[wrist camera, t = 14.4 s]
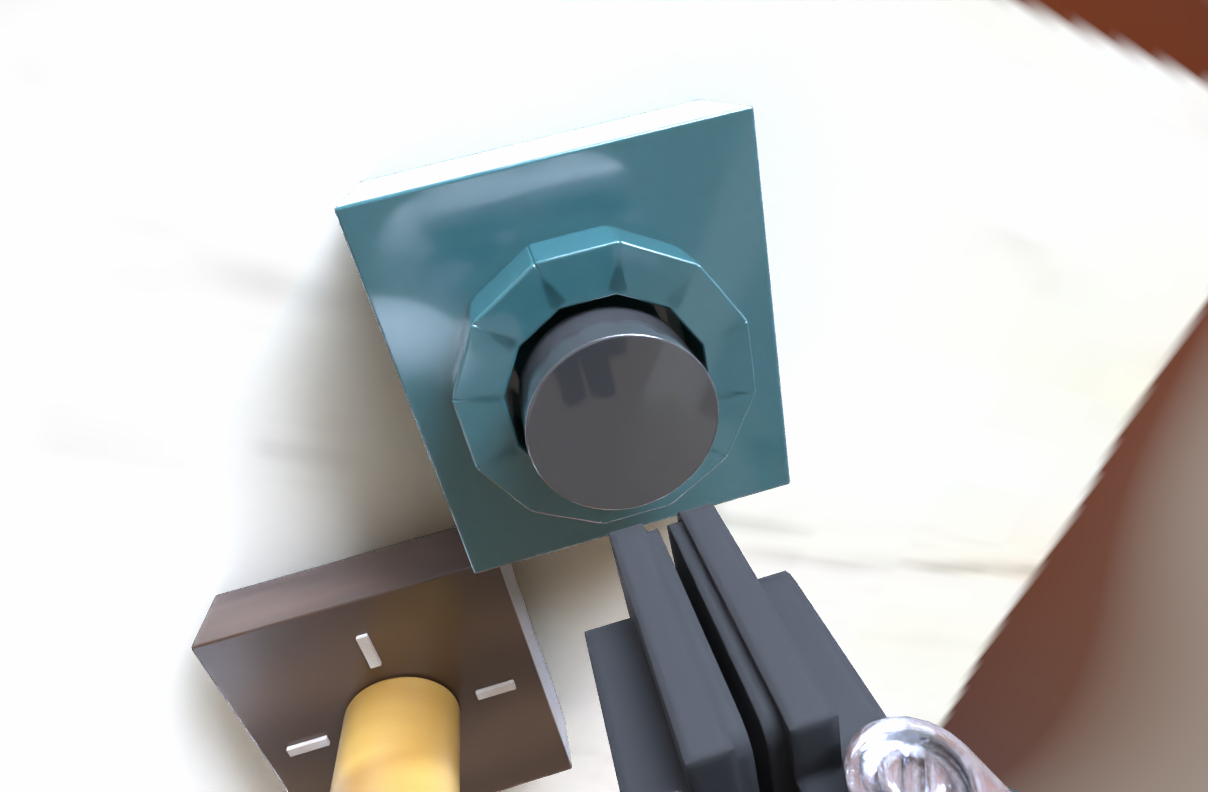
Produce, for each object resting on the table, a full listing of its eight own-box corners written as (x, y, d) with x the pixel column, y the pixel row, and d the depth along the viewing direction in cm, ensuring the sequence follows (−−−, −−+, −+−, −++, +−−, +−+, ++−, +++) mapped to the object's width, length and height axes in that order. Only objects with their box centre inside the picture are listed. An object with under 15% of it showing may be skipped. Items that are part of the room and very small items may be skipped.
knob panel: (564, 716, 30) (573, 772, 27) (335, 786, 29) (323, 850, 26) (494, 515, 25) (497, 563, 22) (215, 594, 24) (187, 651, 21)
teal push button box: (741, 422, 25) (817, 518, 19) (472, 497, 24) (474, 618, 19) (699, 98, 20) (786, 109, 14) (358, 181, 19) (317, 223, 14)
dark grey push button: (704, 440, 18) (730, 481, 16) (543, 485, 18) (552, 532, 16) (678, 283, 16) (705, 310, 14) (496, 331, 16) (500, 365, 14)
